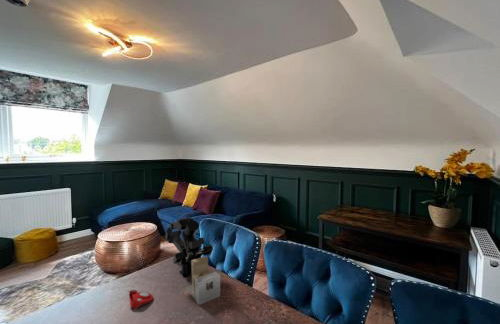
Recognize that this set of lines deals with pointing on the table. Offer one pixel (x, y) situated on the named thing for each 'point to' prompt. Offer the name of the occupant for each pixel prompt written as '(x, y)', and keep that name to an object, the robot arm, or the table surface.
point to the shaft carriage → (199, 269)
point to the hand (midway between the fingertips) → (198, 271)
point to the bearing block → (206, 288)
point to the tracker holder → (139, 298)
